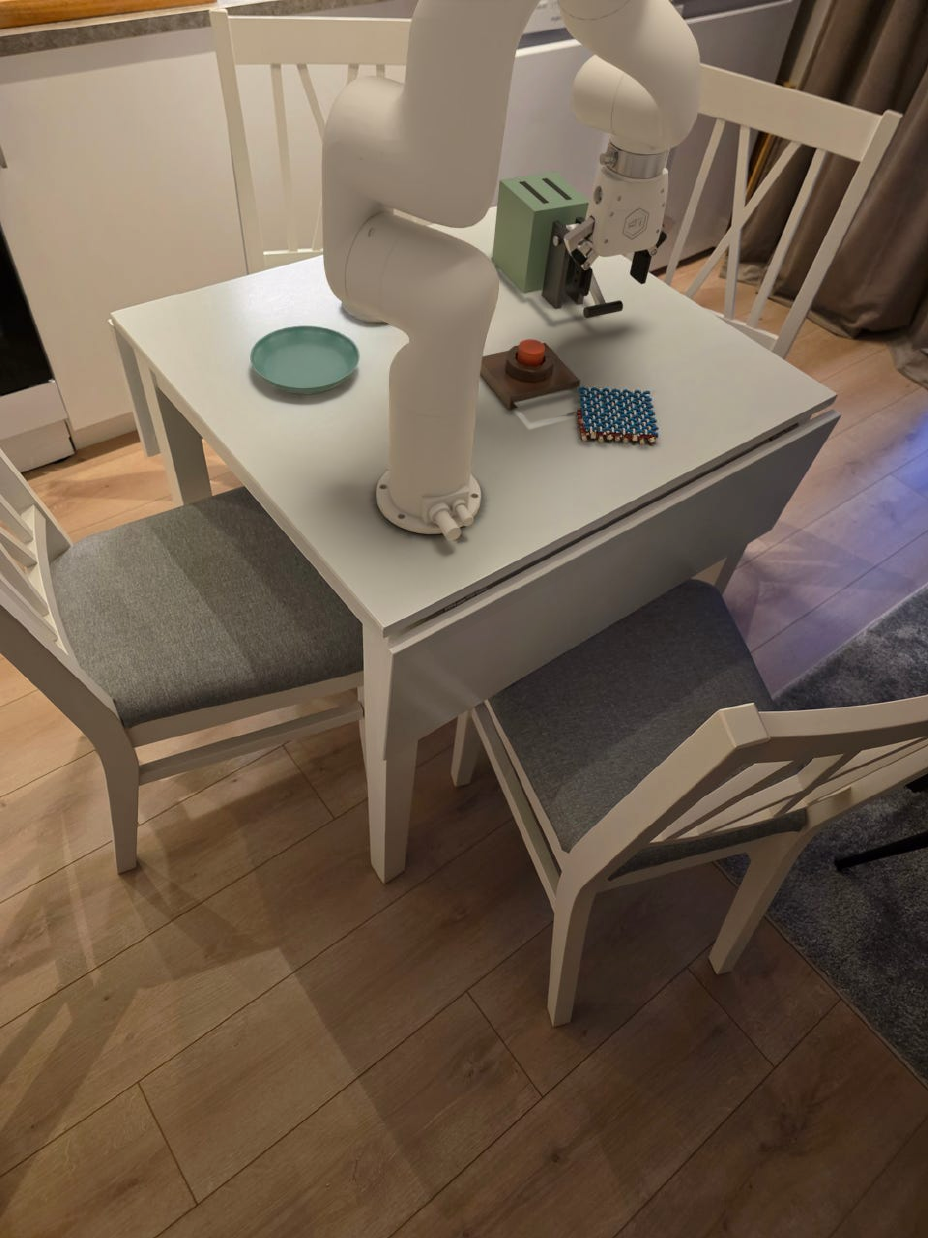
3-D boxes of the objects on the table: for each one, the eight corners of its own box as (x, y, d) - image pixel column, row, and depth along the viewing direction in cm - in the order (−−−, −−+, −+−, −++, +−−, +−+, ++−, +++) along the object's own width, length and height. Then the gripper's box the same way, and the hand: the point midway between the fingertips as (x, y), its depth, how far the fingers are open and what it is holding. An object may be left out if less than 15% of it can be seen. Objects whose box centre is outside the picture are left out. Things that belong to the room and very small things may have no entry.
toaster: (576, 290, 133) (592, 201, 122) (522, 300, 130) (534, 210, 119) (542, 258, 139) (555, 171, 128) (490, 267, 136) (499, 178, 125)
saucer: (230, 366, 113) (227, 349, 111) (315, 330, 120) (314, 313, 118) (297, 417, 107) (295, 400, 105) (381, 375, 114) (381, 359, 112)
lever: (618, 314, 122) (625, 305, 119) (584, 322, 120) (591, 312, 117) (583, 231, 123) (589, 221, 121) (548, 237, 121) (554, 226, 119)
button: (547, 363, 113) (550, 350, 111) (525, 369, 112) (526, 355, 110) (535, 350, 115) (537, 336, 113) (512, 355, 113) (514, 341, 112)
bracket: (595, 315, 129) (612, 233, 119) (551, 324, 126) (565, 242, 116) (569, 289, 133) (583, 209, 123) (526, 298, 130) (537, 217, 121)
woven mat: (572, 394, 115) (574, 382, 113) (646, 399, 115) (650, 387, 114) (578, 442, 108) (580, 429, 106) (657, 447, 109) (661, 434, 107)
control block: (577, 393, 115) (583, 368, 112) (509, 410, 111) (512, 385, 108) (543, 355, 120) (547, 330, 117) (476, 370, 117) (478, 345, 114)
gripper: (593, 179, 99) (570, 310, 112) (708, 161, 104) (673, 287, 118) (562, 154, 103) (543, 283, 116) (674, 138, 109) (644, 262, 122)
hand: (609, 285), depth 117 cm, fingers open, 9 cm apart
